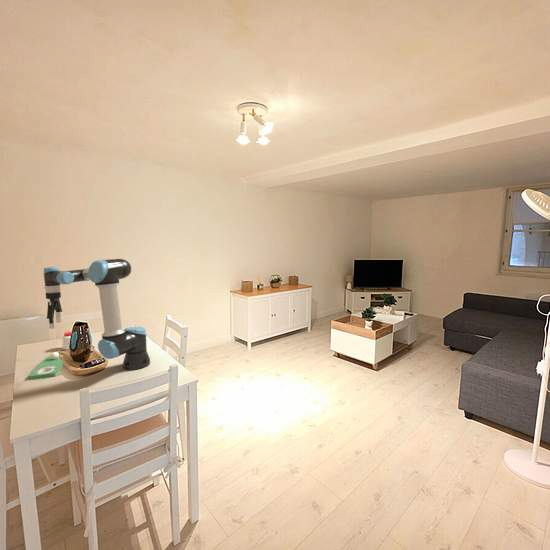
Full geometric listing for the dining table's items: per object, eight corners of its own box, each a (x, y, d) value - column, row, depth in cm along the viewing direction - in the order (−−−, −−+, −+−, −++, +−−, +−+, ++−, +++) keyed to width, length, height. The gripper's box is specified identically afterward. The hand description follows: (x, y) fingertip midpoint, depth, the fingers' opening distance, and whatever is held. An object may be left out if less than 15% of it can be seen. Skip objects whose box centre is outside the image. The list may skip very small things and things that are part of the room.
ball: (60, 357, 187) (59, 350, 186) (58, 359, 183) (57, 353, 182) (51, 358, 185) (51, 351, 185) (49, 360, 181) (48, 353, 181)
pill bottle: (78, 348, 207) (77, 332, 206) (64, 351, 202) (63, 335, 200) (75, 345, 213) (73, 330, 211) (61, 348, 207) (60, 332, 206)
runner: (69, 357, 192) (69, 354, 192) (55, 376, 166) (54, 372, 166) (46, 359, 188) (46, 356, 188) (28, 379, 162) (28, 376, 162)
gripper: (52, 288, 196) (54, 320, 198) (38, 296, 173) (41, 331, 175) (65, 288, 198) (68, 319, 201) (54, 295, 175) (56, 330, 178)
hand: (55, 325), depth 188 cm, fingers open, 13 cm apart
